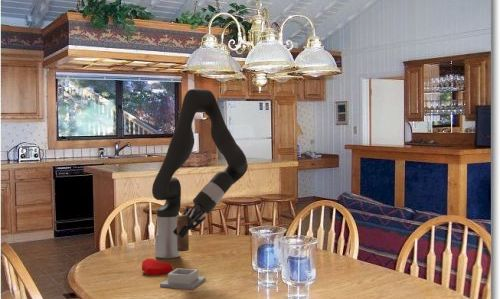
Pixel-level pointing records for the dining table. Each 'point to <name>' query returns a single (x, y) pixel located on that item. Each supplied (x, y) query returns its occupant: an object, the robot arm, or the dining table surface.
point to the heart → (156, 267)
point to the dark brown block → (184, 242)
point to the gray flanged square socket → (183, 279)
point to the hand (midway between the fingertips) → (177, 234)
